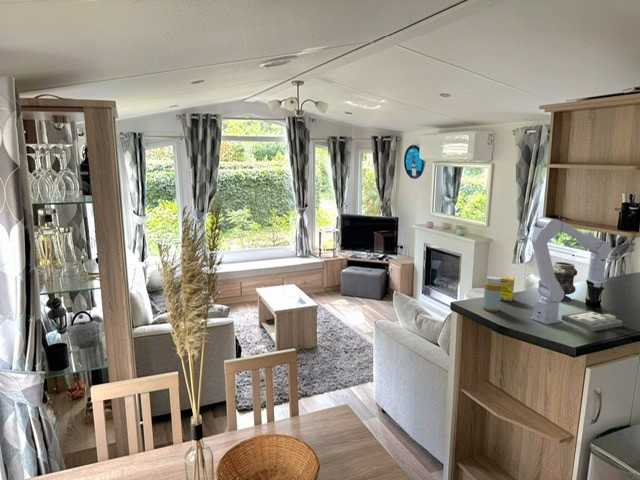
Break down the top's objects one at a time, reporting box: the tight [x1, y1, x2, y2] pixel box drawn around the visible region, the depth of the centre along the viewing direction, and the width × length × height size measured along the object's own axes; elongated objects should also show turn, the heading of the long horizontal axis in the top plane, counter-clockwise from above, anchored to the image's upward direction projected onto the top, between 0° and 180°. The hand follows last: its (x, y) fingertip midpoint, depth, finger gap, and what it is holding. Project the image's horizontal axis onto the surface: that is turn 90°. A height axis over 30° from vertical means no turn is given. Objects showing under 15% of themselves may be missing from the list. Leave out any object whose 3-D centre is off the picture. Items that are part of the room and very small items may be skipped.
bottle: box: [482, 275, 501, 313], centre depth 199 cm, size 7×7×15 cm
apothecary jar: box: [552, 261, 578, 302], centre depth 217 cm, size 12×12×18 cm
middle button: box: [592, 316, 606, 323], centre depth 182 cm, size 4×4×2 cm
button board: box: [561, 310, 623, 332], centre depth 185 cm, size 18×14×2 cm
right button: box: [602, 313, 617, 321], centre depth 185 cm, size 4×4×2 cm
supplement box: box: [500, 276, 515, 303], centre depth 214 cm, size 6×6×11 cm
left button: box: [582, 317, 596, 325], centre depth 180 cm, size 4×4×2 cm
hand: (592, 299), depth 188 cm, fingers open, 7 cm apart
